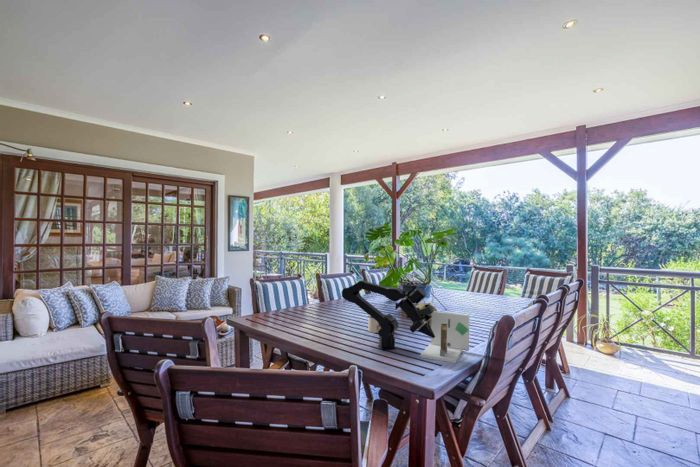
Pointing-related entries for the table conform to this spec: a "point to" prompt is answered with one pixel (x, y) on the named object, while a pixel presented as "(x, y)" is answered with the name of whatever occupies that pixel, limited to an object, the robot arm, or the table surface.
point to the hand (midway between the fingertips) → (434, 337)
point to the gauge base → (448, 336)
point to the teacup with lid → (373, 325)
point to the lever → (444, 337)
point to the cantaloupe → (424, 307)
